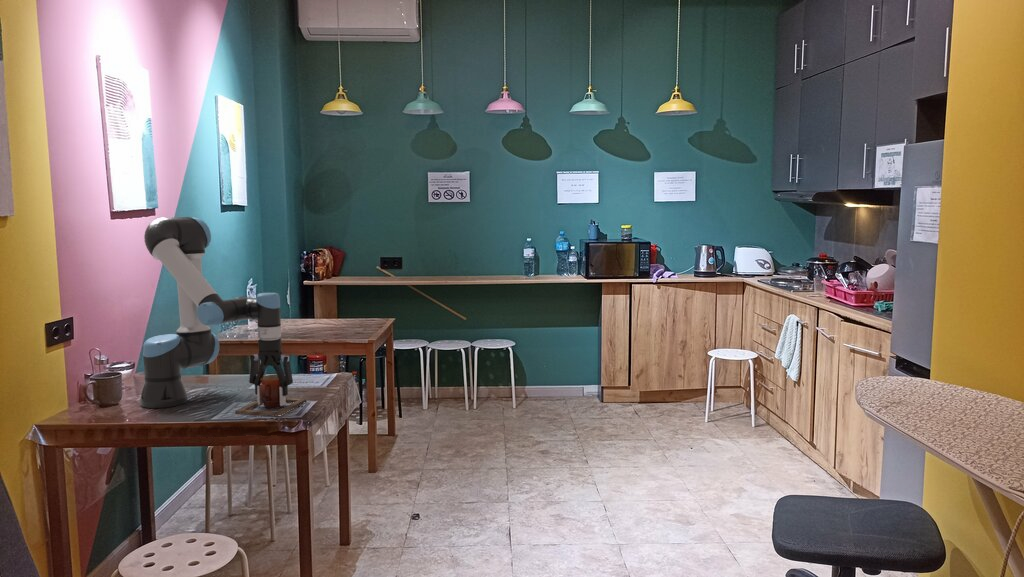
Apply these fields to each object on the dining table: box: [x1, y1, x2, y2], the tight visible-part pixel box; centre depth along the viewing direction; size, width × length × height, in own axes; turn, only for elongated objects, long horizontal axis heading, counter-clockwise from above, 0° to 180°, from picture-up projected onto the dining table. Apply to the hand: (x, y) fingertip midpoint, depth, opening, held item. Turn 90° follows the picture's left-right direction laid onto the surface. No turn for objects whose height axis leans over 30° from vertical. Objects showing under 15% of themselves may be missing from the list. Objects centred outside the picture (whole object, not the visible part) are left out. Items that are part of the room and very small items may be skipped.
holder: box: [234, 397, 307, 417], centre depth 258 cm, size 16×19×1 cm
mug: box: [260, 374, 283, 409], centre depth 258 cm, size 12×9×10 cm
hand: (271, 404), depth 258 cm, fingers closed on mug, 7 cm apart
